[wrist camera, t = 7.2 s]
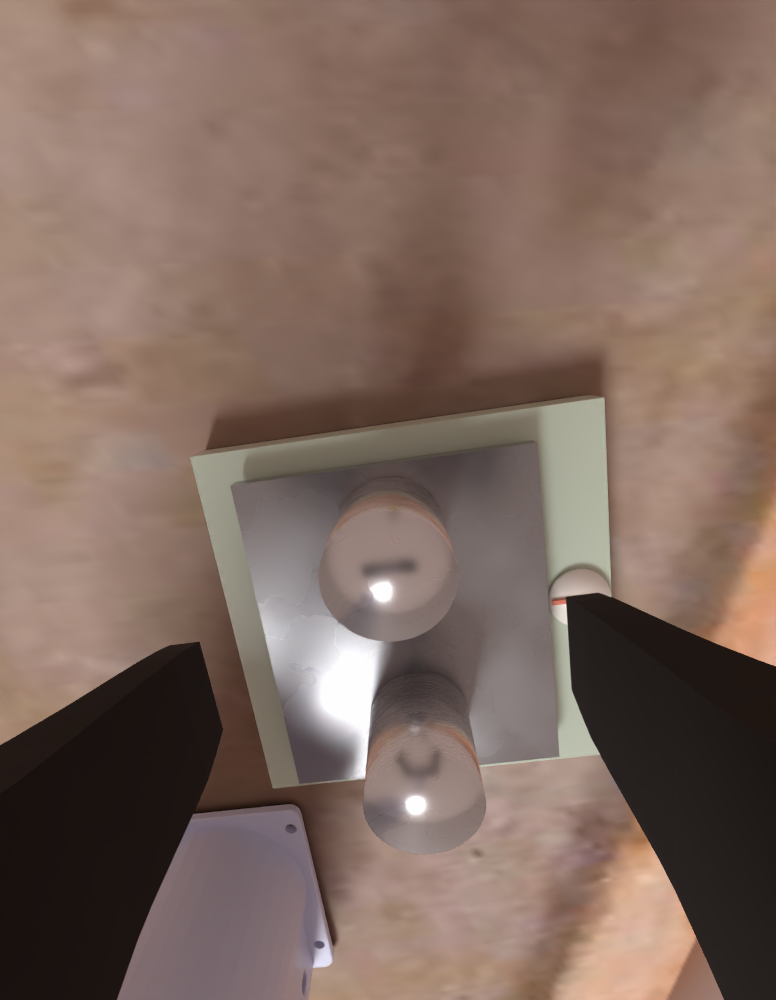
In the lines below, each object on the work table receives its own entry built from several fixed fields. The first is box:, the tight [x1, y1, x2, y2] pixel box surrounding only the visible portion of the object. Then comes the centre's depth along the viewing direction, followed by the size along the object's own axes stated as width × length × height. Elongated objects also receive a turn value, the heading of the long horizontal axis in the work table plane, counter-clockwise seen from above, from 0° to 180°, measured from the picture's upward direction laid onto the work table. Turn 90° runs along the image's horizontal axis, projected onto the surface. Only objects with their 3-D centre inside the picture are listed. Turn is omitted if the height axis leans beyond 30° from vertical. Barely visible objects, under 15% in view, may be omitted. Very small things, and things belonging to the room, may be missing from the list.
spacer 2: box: [363, 672, 486, 854], centre depth 17 cm, size 4×4×4 cm
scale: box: [190, 395, 612, 789], centre depth 19 cm, size 14×14×2 cm
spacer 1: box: [318, 477, 458, 642], centre depth 15 cm, size 4×4×4 cm
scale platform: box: [230, 440, 560, 784], centre depth 19 cm, size 12×10×2 cm
